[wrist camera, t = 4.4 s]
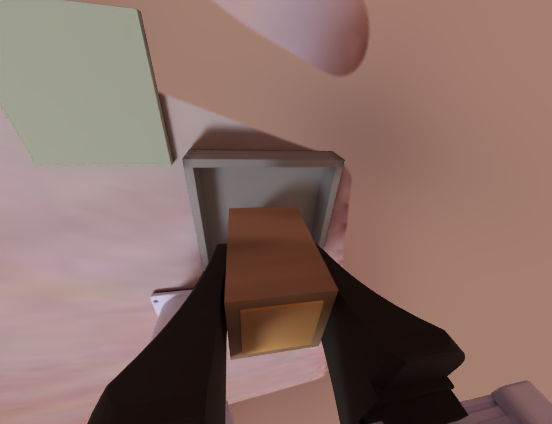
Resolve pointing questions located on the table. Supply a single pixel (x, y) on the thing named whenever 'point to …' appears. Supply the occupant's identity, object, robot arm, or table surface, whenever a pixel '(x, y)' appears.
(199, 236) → the bin
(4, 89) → the mat
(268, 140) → the table surface
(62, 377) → the table surface
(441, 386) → the robot arm
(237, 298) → the label block
